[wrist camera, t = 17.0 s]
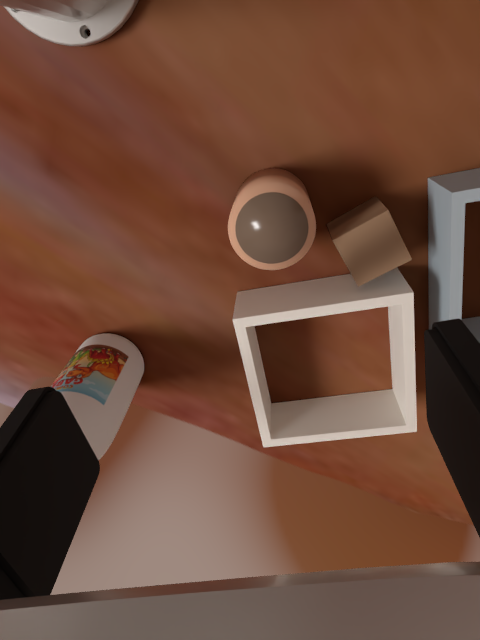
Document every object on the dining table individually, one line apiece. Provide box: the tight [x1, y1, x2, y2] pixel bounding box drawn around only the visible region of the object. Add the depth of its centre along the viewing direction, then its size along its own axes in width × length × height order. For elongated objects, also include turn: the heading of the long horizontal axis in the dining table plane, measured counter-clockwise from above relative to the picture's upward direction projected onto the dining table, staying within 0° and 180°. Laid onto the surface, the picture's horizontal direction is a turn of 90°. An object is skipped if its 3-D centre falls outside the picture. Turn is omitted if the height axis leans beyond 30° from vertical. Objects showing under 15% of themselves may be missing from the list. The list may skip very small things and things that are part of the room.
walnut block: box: [327, 196, 412, 287], centre depth 40 cm, size 5×5×5 cm
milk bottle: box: [51, 333, 144, 460], centre depth 42 cm, size 8×8×20 cm
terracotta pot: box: [228, 168, 316, 270], centre depth 38 cm, size 7×7×7 cm
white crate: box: [233, 267, 417, 447], centre depth 45 cm, size 16×16×6 cm
